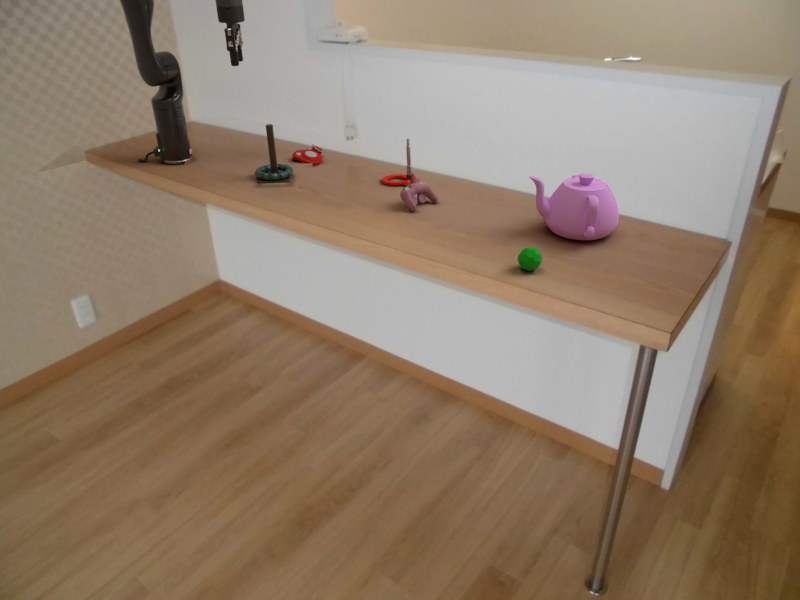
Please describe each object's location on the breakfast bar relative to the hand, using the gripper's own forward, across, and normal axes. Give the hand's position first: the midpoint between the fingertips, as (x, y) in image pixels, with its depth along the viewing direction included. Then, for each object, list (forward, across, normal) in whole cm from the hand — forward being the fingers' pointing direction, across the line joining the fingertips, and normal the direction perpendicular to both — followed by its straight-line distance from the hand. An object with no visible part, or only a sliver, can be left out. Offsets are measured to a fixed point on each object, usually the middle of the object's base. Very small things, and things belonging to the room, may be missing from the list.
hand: (237, 63), depth 185 cm
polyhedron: (+30, +86, +69) cm, 114 cm away
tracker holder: (+30, +2, +20) cm, 36 cm away
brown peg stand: (+30, +21, +10) cm, 38 cm away
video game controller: (+30, +46, +50) cm, 74 cm away
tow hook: (+30, +26, +46) cm, 61 cm away
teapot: (+30, +67, +84) cm, 112 cm away
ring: (+28, +20, +10) cm, 35 cm away
